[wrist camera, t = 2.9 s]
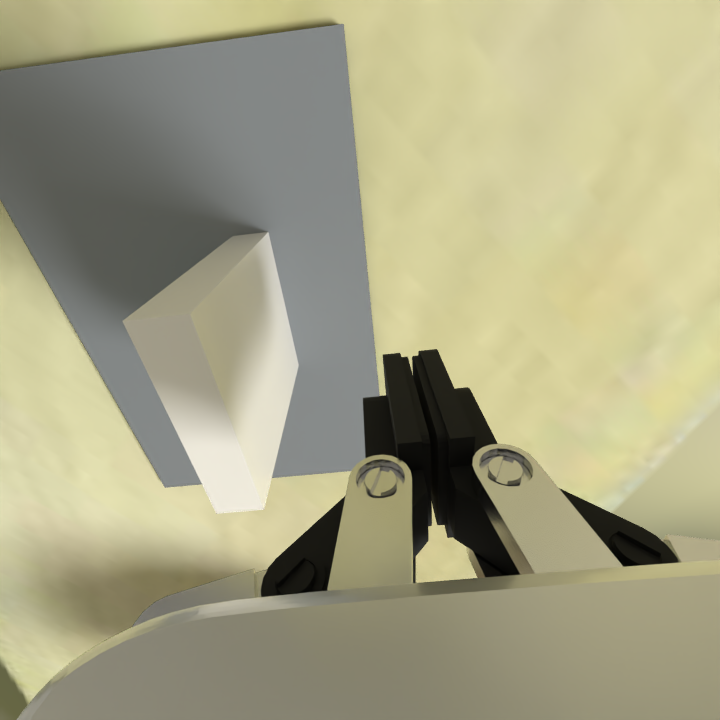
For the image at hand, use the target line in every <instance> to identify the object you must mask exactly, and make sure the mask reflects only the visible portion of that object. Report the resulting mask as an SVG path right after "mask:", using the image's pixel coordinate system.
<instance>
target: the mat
mask: <svg viewBox="0 0 720 720" xmlns="http://www.w3.org/2000/svg"><path fill="white" fill-rule="evenodd" d="M0 200H1V202H2V203H3V205H4V207H5V209H6V210H7V212H8V214H9V216H10V217H11V219H12V221H13V223H14V224H15V226H16V228H17V230H18V231H19V233H20V235H21V237H22V238H23V240H24V242H25V244H26V245H27V247H28V249H29V251H30V252H31V254H32V256H33V258H34V259H35V261H36V263H37V265H38V266H39V268H40V270H41V272H42V273H43V275H44V277H45V279H46V280H47V282H48V284H49V286H50V287H51V289H52V291H53V293H54V294H55V296H56V298H57V300H58V301H59V303H60V305H61V307H62V308H63V310H64V312H65V314H66V315H67V317H68V319H69V321H70V322H71V324H72V326H73V328H74V329H75V331H76V333H77V335H78V336H79V338H80V340H81V342H82V343H83V345H84V347H85V349H86V350H87V352H88V354H89V356H90V357H91V359H92V361H93V363H94V364H95V366H96V368H97V370H98V371H99V373H100V375H101V377H102V378H103V380H104V382H105V384H106V385H107V387H108V389H109V391H110V392H111V394H112V396H113V398H114V399H115V401H116V403H117V405H118V406H119V408H120V410H121V412H122V413H123V415H124V417H125V419H126V420H127V422H128V424H129V426H130V427H131V429H132V431H133V433H134V434H135V436H136V438H137V440H138V441H139V443H140V445H141V447H142V448H143V450H144V452H145V454H146V455H147V457H148V459H149V461H150V462H151V464H152V466H153V468H154V469H155V471H156V473H157V475H158V476H159V478H160V480H161V482H162V483H163V485H164V487H165V488H166V487H177V486H188V485H199V484H202V483H201V481H200V479H199V477H198V475H197V473H196V471H195V469H194V467H193V465H192V463H191V461H190V458H189V456H188V454H187V452H186V450H185V448H184V446H183V444H182V442H181V440H180V438H179V436H178V434H177V432H176V430H175V428H174V426H173V424H172V422H171V420H170V418H169V416H168V414H167V411H166V409H165V407H164V405H163V403H162V401H161V399H160V397H159V395H158V393H157V391H156V389H155V387H154V385H153V383H152V381H151V379H150V377H149V375H148V373H147V371H146V369H145V366H144V364H143V362H142V360H141V358H140V356H139V354H138V352H137V350H136V348H135V346H134V344H133V342H132V340H131V338H130V336H129V334H128V332H127V330H126V328H125V326H124V324H123V322H122V321H123V320H124V319H126V318H127V317H128V316H130V315H131V314H132V313H134V312H135V311H136V310H137V309H139V308H140V307H141V306H143V305H144V304H145V303H147V302H148V301H149V300H150V299H152V298H153V297H154V296H156V295H157V294H158V293H160V292H161V291H162V290H163V289H165V288H166V287H167V286H169V285H170V284H171V283H173V282H174V281H175V280H176V279H178V278H179V277H180V276H182V275H183V274H184V273H186V272H187V271H188V270H189V269H191V268H192V267H193V266H195V265H196V264H197V263H198V262H200V261H201V260H202V259H204V258H205V257H206V256H208V255H209V254H210V253H211V252H213V251H214V250H215V249H217V248H218V247H219V246H221V245H222V244H223V243H224V242H226V241H227V240H228V239H230V238H231V237H232V236H237V235H246V234H254V233H263V232H268V233H269V237H270V241H271V246H272V250H273V255H274V259H275V263H276V268H277V272H278V277H279V281H280V285H281V290H282V294H283V298H284V303H285V307H286V312H287V316H288V320H289V325H290V329H291V334H292V338H293V342H294V347H295V351H296V355H297V360H298V364H299V366H298V370H297V375H296V379H295V383H294V387H293V391H292V395H291V400H290V404H289V408H288V412H287V416H286V420H285V425H284V429H283V433H282V437H281V441H280V445H279V450H278V454H277V458H276V462H275V466H274V471H273V475H272V478H277V477H288V476H300V475H311V474H322V473H333V472H344V471H352V469H353V468H354V467H355V466H356V464H357V463H359V462H360V461H362V460H363V459H365V437H364V415H363V398H365V397H376V396H379V386H378V376H377V365H376V355H375V345H374V334H373V324H372V313H371V303H370V293H369V282H368V272H367V262H366V251H365V241H364V231H363V220H362V210H361V200H360V189H359V179H358V169H357V158H356V148H355V138H354V127H353V117H352V107H351V96H350V86H349V76H348V65H347V55H346V44H345V34H344V24H339V25H332V26H325V27H317V28H310V29H303V30H295V31H288V32H281V33H273V34H266V35H259V36H251V37H244V38H236V39H229V40H222V41H214V42H207V43H200V44H192V45H185V46H178V47H170V48H163V49H156V50H148V51H141V52H134V53H126V54H119V55H111V56H104V57H97V58H89V59H82V60H75V61H67V62H60V63H53V64H45V65H38V66H31V67H23V68H16V69H9V70H1V71H0Z"/></svg>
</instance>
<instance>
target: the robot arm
mask: <svg viewBox="0 0 720 720" xmlns="http://www.w3.org/2000/svg"><path fill="white" fill-rule="evenodd" d="M383 364H384V376H385V388H386V396H376V397H365V398H363V415H364V437H365V459H363V460H362V461H360V462H359V463H357V464H356V466H355V467H354V468H353V469H352V471H351V474H350V476H349V481H348V486H347V491H346V496H345V497H344V498H342V499H341V500H340V501H339V502H338V503H337V504H336V505H335V506H334V507H333V508H331V509H330V510H329V511H328V512H327V513H326V514H325V515H324V516H323V517H322V518H320V519H319V520H318V521H317V522H316V523H315V524H314V525H313V526H312V527H310V528H309V529H308V530H307V531H306V532H305V533H304V534H303V535H302V536H301V537H299V538H298V539H297V540H296V541H295V542H294V543H293V544H292V545H291V546H290V547H288V548H287V549H286V550H285V551H284V552H283V553H282V554H281V555H280V556H278V557H277V558H276V559H275V561H274V562H273V563H272V564H271V565H270V566H269V568H268V569H267V570H264V571H261V572H258V573H256V572H255V570H254V569H251V570H248V571H245V572H241V573H238V574H235V575H232V576H229V577H226V578H223V579H219V580H216V581H213V582H210V583H207V584H204V585H200V586H197V587H194V588H191V589H188V590H185V591H181V592H178V593H175V594H172V595H169V596H166V597H164V598H162V599H160V600H158V601H156V602H154V603H153V604H152V605H151V606H149V607H148V608H147V609H146V610H145V611H144V612H142V614H141V615H140V616H139V618H138V619H137V620H136V622H135V623H134V624H133V626H132V628H129V629H127V630H125V631H123V632H121V633H119V634H117V635H115V636H113V637H111V638H109V639H107V640H105V641H103V642H102V643H100V644H98V645H96V646H95V647H93V648H91V649H90V650H88V651H87V652H85V653H84V654H82V655H81V656H79V657H78V658H76V659H75V660H73V661H72V662H70V663H69V664H68V665H67V666H66V667H64V668H63V669H62V670H61V671H60V672H58V673H57V674H56V675H55V676H54V677H53V678H52V679H51V680H50V681H49V682H48V683H47V684H46V685H45V686H44V687H43V688H42V689H41V690H40V691H39V692H38V693H37V695H36V696H35V697H34V698H33V699H32V701H31V702H30V703H29V704H28V705H27V707H26V708H25V709H24V711H23V712H22V713H21V714H20V716H19V717H18V718H17V720H720V541H719V540H711V539H702V538H694V537H693V538H692V537H685V536H676V535H668V534H667V535H666V536H665V538H664V539H659V538H658V537H657V536H656V535H654V534H652V533H651V532H649V531H647V530H645V529H644V528H642V527H640V526H638V525H635V524H633V523H631V522H629V521H627V520H625V519H623V518H621V517H619V516H617V515H615V514H612V513H610V512H608V511H606V510H604V509H602V508H600V507H598V506H595V505H593V504H591V503H589V502H587V501H585V500H583V499H581V498H579V497H576V496H574V495H572V494H570V493H568V492H566V491H564V490H562V489H560V488H558V487H557V485H556V484H555V483H554V482H553V481H552V479H551V478H550V477H549V476H548V474H547V473H546V472H545V471H544V470H543V468H542V467H541V466H540V465H539V464H538V462H537V461H536V460H535V459H534V458H533V457H532V456H531V455H530V454H529V453H527V452H525V451H523V450H522V449H520V448H517V447H514V446H511V445H505V444H497V442H496V440H495V438H494V436H493V434H492V432H491V430H490V428H489V426H488V424H487V422H486V420H485V418H484V416H483V414H482V412H481V410H480V408H479V406H478V404H477V402H476V400H475V398H474V396H473V394H472V392H471V390H470V389H469V388H457V389H454V387H453V384H452V382H451V380H450V378H449V375H448V373H447V371H446V368H445V366H444V364H443V362H442V359H441V357H440V355H439V352H438V350H437V349H434V350H424V351H419V353H418V356H413V357H412V364H413V375H412V371H411V367H410V364H409V360H408V357H401V354H400V353H395V354H385V355H383ZM431 500H432V505H433V509H434V513H435V518H436V522H437V525H445V529H446V533H447V537H448V538H450V537H454V539H456V540H457V541H459V542H460V543H462V544H463V545H465V546H466V547H467V553H468V557H469V560H470V562H471V564H472V566H473V568H474V571H475V573H476V575H477V577H478V578H473V579H461V580H449V581H436V582H424V583H416V555H417V554H418V553H419V552H420V550H421V549H422V548H423V547H424V545H425V544H426V543H427V542H428V526H431V525H432V505H431Z"/></svg>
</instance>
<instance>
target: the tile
mask: <svg viewBox="0 0 720 720" xmlns="http://www.w3.org/2000/svg"><path fill="white" fill-rule="evenodd" d="M122 322H123V324H124V326H125V328H126V330H127V332H128V334H129V336H130V338H131V340H132V342H133V344H134V346H135V348H136V350H137V352H138V354H139V356H140V358H141V360H142V362H143V364H144V366H145V369H146V371H147V373H148V375H149V377H150V379H151V381H152V383H153V385H154V387H155V389H156V391H157V393H158V395H159V397H160V399H161V401H162V403H163V405H164V407H165V409H166V411H167V414H168V416H169V418H170V420H171V422H172V424H173V426H174V428H175V430H176V432H177V434H178V436H179V438H180V440H181V442H182V444H183V446H184V448H185V450H186V452H187V454H188V456H189V458H190V461H191V463H192V465H193V467H194V469H195V471H196V473H197V475H198V477H199V479H200V481H201V483H202V485H203V487H204V489H205V491H206V493H207V495H208V497H209V499H210V501H211V503H212V506H213V508H214V510H215V512H216V514H217V513H229V512H241V511H252V510H264V508H265V504H266V500H267V496H268V491H269V487H270V483H271V479H272V475H273V471H274V466H275V462H276V458H277V454H278V450H279V445H280V441H281V437H282V433H283V429H284V425H285V420H286V416H287V412H288V408H289V404H290V400H291V395H292V391H293V387H294V383H295V379H296V375H297V370H298V366H299V364H298V360H297V355H296V351H295V347H294V342H293V338H292V334H291V329H290V325H289V320H288V316H287V312H286V307H285V303H284V298H283V294H282V290H281V285H280V281H279V277H278V272H277V268H276V263H275V259H274V255H273V250H272V246H271V241H270V237H269V233H268V232H263V233H254V234H246V235H237V236H232V237H231V238H230V239H228V240H227V241H226V242H224V243H223V244H222V245H221V246H219V247H218V248H217V249H215V250H214V251H213V252H211V253H210V254H209V255H208V256H206V257H205V258H204V259H202V260H201V261H200V262H198V263H197V264H196V265H195V266H193V267H192V268H191V269H189V270H188V271H187V272H186V273H184V274H183V275H182V276H180V277H179V278H178V279H176V280H175V281H174V282H173V283H171V284H170V285H169V286H167V287H166V288H165V289H163V290H162V291H161V292H160V293H158V294H157V295H156V296H154V297H153V298H152V299H150V300H149V301H148V302H147V303H145V304H144V305H143V306H141V307H140V308H139V309H137V310H136V311H135V312H134V313H132V314H131V315H130V316H128V317H127V318H126V319H124V320H123V321H122Z"/></svg>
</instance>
